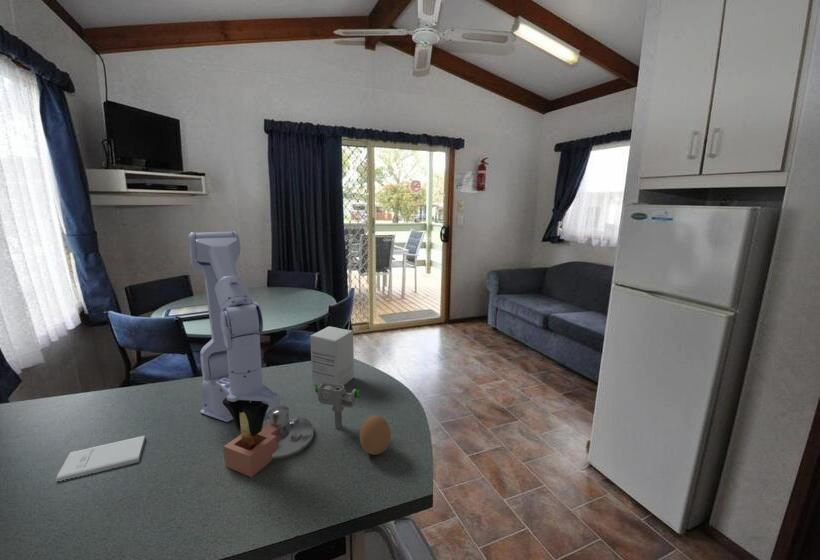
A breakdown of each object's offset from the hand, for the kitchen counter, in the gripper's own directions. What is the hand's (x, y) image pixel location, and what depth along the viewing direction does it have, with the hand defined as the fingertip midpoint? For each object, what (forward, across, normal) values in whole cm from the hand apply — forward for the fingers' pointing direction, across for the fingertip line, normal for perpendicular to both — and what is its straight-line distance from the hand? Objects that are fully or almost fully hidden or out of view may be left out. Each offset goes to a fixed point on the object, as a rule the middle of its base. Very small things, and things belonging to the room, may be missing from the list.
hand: (249, 430), depth 73 cm
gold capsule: (+2, 0, 0) cm, 2 cm away
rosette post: (+7, 0, +8) cm, 10 cm away
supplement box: (+7, -5, +35) cm, 36 cm away
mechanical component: (+7, +9, +17) cm, 20 cm away
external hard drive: (+8, -27, -12) cm, 30 cm away
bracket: (+7, 0, +2) cm, 7 cm away
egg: (+7, +21, +13) cm, 26 cm away
